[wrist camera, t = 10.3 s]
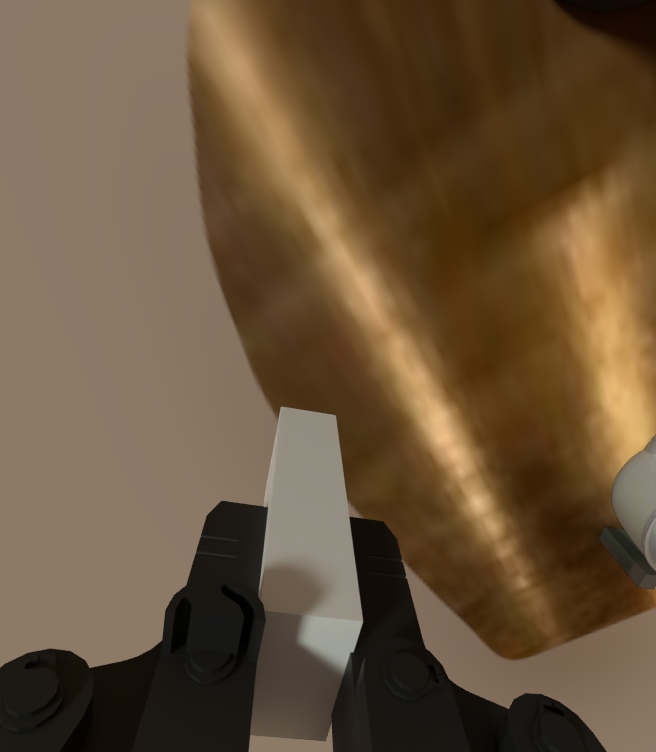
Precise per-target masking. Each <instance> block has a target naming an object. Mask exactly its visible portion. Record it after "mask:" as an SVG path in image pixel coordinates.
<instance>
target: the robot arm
mask: <svg viewBox="0 0 656 752" xmlns="http://www.w3.org/2000/svg"><path fill="white" fill-rule="evenodd" d="M565 1H567V2H569V3H571V4H573V5H576V6H579V7H583V8H587V9H593V10H618V9H625V8H629V7H633V6H636V5H639V4H642V3H645V2H647V1H650V0H565ZM401 560H402V558H401V554H400V550H399V546H398V542H397V539H396V538H395V536H394V535H393V534H392V532H391V531H390V530H389V528H388V527H387V526H386V524H385V523H384V522H383V521H376V520H369V519H362V518H354V517H349V513H348V505H347V497H346V490H345V482H344V475H343V467H342V460H341V452H340V445H339V437H338V430H337V422H336V415H330V414H323V413H317V412H311V411H305V410H299V409H293V408H287V407H281V410H280V416H279V421H278V427H277V432H276V438H275V443H274V449H273V454H272V459H271V464H270V470H269V475H268V480H267V486H266V492H265V499H264V507H263V506H256V505H248V504H241V503H234V502H227V501H221V502H220V503H219V504H218V505H217V506H216V507H215V508H214V509H213V510H212V511H211V512H210V513H209V514H208V515H207V517H206V520H205V524H204V527H203V530H202V534H201V538H200V541H199V544H198V547H197V551H196V555H195V558H194V561H193V564H192V568H191V572H190V575H189V578H188V582H187V585H186V586H185V587H184V588H182V589H181V590H180V591H179V592H177V593H176V594H175V595H174V596H173V598H172V600H171V601H170V603H169V605H168V607H167V608H166V611H165V620H164V630H163V639H162V641H161V642H160V643H159V644H157V645H156V646H155V647H154V648H152V649H151V650H149V651H147V652H145V653H143V654H142V655H140V656H138V657H135V658H132V659H128V660H125V661H122V662H117V663H112V664H107V665H102V666H97V667H93V668H89V666H88V664H87V663H86V661H85V660H84V659H82V658H81V657H79V656H77V655H76V654H74V653H73V652H71V651H65V650H57V649H46V650H41V651H36V652H30V653H27V654H25V655H23V656H21V657H18V658H16V659H14V660H12V661H10V662H8V663H6V664H4V665H3V666H2V667H1V668H0V752H248V750H249V740H250V735H256V736H269V737H281V738H293V739H306V740H318V741H326V738H327V735H328V732H329V729H330V725H331V722H332V734H333V735H332V737H333V752H606V750H605V749H604V747H603V746H602V745H601V743H600V742H599V740H598V739H597V738H596V736H595V735H594V734H593V732H592V731H591V730H590V729H589V728H588V727H587V725H586V724H585V723H584V722H583V721H582V720H581V719H580V718H579V716H578V715H576V714H575V713H574V712H572V711H571V710H570V709H568V708H567V707H566V706H564V705H563V704H562V703H560V702H559V701H556V700H554V699H552V698H549V697H547V696H544V695H542V694H528V693H525V694H523V695H521V696H519V697H518V698H516V699H514V700H513V702H512V704H511V706H510V708H509V709H507V708H505V707H503V706H500V705H498V704H496V703H493V702H491V701H489V700H486V699H484V698H481V697H479V696H477V695H475V694H472V693H470V692H468V691H466V690H464V689H463V688H461V687H459V686H457V685H456V684H454V683H453V682H452V681H451V680H449V678H448V676H447V674H446V672H445V670H444V668H443V666H442V665H441V663H440V662H439V661H438V660H437V659H436V658H435V657H434V656H433V654H432V653H431V652H430V651H428V650H427V649H426V648H425V645H424V643H423V639H422V635H421V631H420V627H419V623H418V619H417V615H416V612H415V608H414V604H413V600H412V596H411V593H410V588H409V585H408V581H407V579H406V573H405V569H404V565H403V562H401Z"/></svg>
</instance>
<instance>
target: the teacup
mask: <svg viewBox="0 0 656 752" xmlns="http://www.w3.org/2000/svg"><path fill="white" fill-rule="evenodd" d="M611 500H612V506H613V510H614V512H615V515H616V517H617V519H618V520H619V522H620V524H621V525H622V527H623V528H624V530H625V531H626V532H627V534H628V535H629V537H630V538H631V539H632V541H633V542H634V543H635V544H636V546H637V547H638V548H639V550H640V551H641V552H642V553H643V555H644V556H645V558H646V560H647V562H648V563H649V565H650V566H651V567H652V568H653V569H654V570H655V571H656V435H655V436H654V437H653V438H652V440H651V442H649V443H648V444H647V448H646V449H644V450H642V451H640V452H639V453H637V454H636V455H634V456H633V457H632V458H631V459H630V460H629V461H628V462H627V463H626V464H625V465H624V466H623V468H622V469H621V470H620V472H619V473H618V475H617V477H616V479H615V481H614V484H613V487H612V495H611Z"/></svg>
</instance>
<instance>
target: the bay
mask: <svg viewBox="0 0 656 752" xmlns="http://www.w3.org/2000/svg"><path fill="white" fill-rule="evenodd" d="M599 540H600V542H601V543H602V544H603V545H604V546H605V548H606V549H607V550H608V551H609V552H610V554H611V555H612V556H613V557H614V559H615V560H616V561H617V562H618V563H619V565H620V566H621V567H622V568H623V569H624V571H625V572H626V573H627V574H628V576H629V577H630V578H631V579H632V580H633V582H634V583H635V584H636V585H637V586H638V587H639V588H647V589H654V588H655V587H656V571H655V570H654V569H653V568H652V567H651V566H650V565H649V563H648V562H647V560H646V558H645V556H644V555H643V553H642V552H641V551H640V550H639V548H638V547H637V546H636V544H635V543H634V542H633V541H632V539H631V538H630V537H629V535H628V534H627V532H626V531H625V530H622V529H615V528H609V527H604V529H603V531H602V533H601V535H600V537H599Z"/></svg>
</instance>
